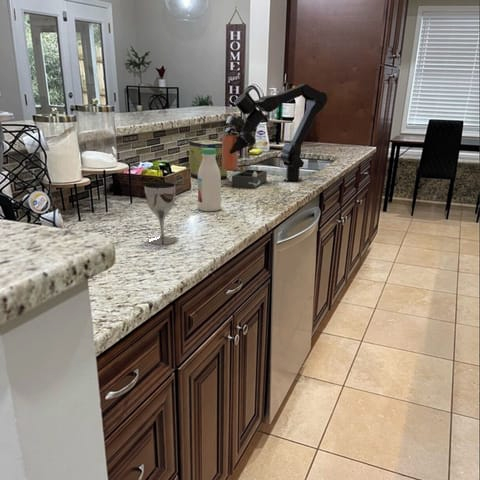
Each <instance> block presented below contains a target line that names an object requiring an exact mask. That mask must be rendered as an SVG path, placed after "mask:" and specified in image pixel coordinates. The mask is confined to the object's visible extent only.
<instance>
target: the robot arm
mask: <svg viewBox="0 0 480 480" xmlns="http://www.w3.org/2000/svg"><path fill="white" fill-rule="evenodd" d="M300 97H302V98H303V99H304V100H306V103H305V104H306V105H305V106H306V108H305V111H304V114H303V116H302V118H301V119H300V122H299V124H298V126H297V128H296V131H295V133H294V134H293V136H292V139H291V140H290V141H289V142H288V143H287V142H284V144H283V147H282V148H281V150H280V152H281V153H280V159H281V161H282V162H283V163H282V164H283V165H284V166H286V174H285V178H284V179H283V181H284V182H293V183H296V182H297V183H298V182H300V181H301V180H302V178H300V169H301V168H303V167H304V165H305V162H304V160H303V159H302V158H301V155H302V145H303V144H304V141H305V139H306V137H307V135H308V133H309V131H310V128H311V127H312V125H313V122H314V121H315V119H316V117H317V115H318V114H319V113H320V112H321V111H322V110H323V109H324V107H325V106H326V105H327V103H328V100H329V99H328V94H326V92H324V91H320V90H318V89H316V88H314V87H312V86H311V85H309V84H307V83H299V84H298V85H296V86H294V87H291V88H290V89H289V88H288V89H287V90H284V91H281V92H279V93H277V94H271V95H264V96H260V97H259V98H258V99H257V100H254V99H253V97H252V96H251V94H250V93H249V92H248V91H244V92H243V93H242V94H239V96H238V97H236V99H235V100H234V102H233V104H234V105H235V107H236V108H237V109H238V110H239V111H240V112H241V113H242V114H243V115H246V116H245V118H243V117H242V116H240V115H236V116H233V115H228V117H227V120H226V122H225V123H226V125H229V126H231V127H226V129H225V130H224V133H225V135H237V141H236V142H235V144H234V145H233V147H232V148H231V150H230V153H231V154H232V153H234V152H237V151H238V152H239V151H241V150H243V149H245V148H247V147H250V146H252V147H253V146H254V145H255V144H256V138H255V137H254V135H253V133H256V132H257V127H258V126H259V125H260V124H261V123H262V122H263V123H268V122H269V117H268V114H264V113H272V112H274V111H275V110H276V109H278V108H279V107H280V106H281V105H282V104H285V103H287V102H290V101H292V100H294V99H297V98H300Z"/></svg>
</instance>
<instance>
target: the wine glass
mask: <svg viewBox="0 0 480 480" xmlns="http://www.w3.org/2000/svg"><path fill="white" fill-rule="evenodd" d="M144 197H145V200H146V204H147V207H148V208H149V210H150V211H151V212H152V213H153V214H154V215H155V216H156V217H157V219H158V223H159V227H160V236H156V237H152V238H150V239H149V243H151V244H154V245H169V244H174V243H175V242H177V239H176V238H175V237H171V236H165V232H164V228H165V219H166V217H167V215H168V214H169V213H170V212H171V211H172V210H173V207H174V205H175V201H176V184H175V183H171V182H149V183H146V184H145V185H144Z"/></svg>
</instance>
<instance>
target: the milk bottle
mask: <svg viewBox="0 0 480 480" xmlns="http://www.w3.org/2000/svg"><path fill="white" fill-rule="evenodd" d="M202 156H203V159H202V163H201V166H200V168H199V171H198V178H197V205H198V207H197V208H198V210H200V211H204V212H216V211H220V210H221V208H222V179H221V176H220V170H219V168H218V165H217V163H216V159H215V156H216V149H214V148H203V149H202Z"/></svg>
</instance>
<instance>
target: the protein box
mask: <svg viewBox="0 0 480 480" xmlns="http://www.w3.org/2000/svg"><path fill="white" fill-rule="evenodd" d="M188 146H189V147H188V148H189V152H188V153H189V171H190V170H191V176H190V177H192V178H196V179H198V171H199V168H200V166H201V163H202V159H203V156H202V149H203V148H214V149H216V156H215V159H216V163H217V165H218V168H219V170H220V176H221V180H228V170H227V169H222V141H215V140H209V139H206V140H190V141H188Z"/></svg>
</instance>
